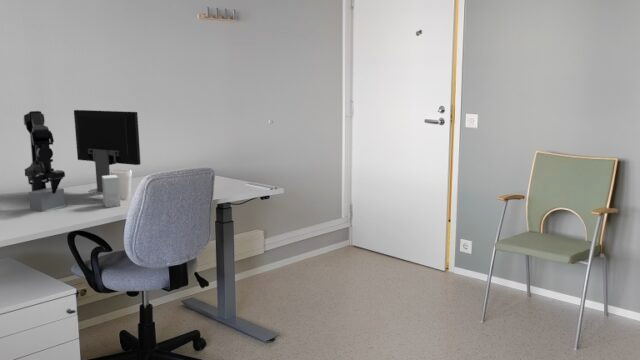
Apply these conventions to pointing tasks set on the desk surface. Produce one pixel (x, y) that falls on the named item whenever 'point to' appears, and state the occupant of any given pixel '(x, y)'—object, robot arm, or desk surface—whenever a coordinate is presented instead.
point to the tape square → (54, 208)
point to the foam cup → (123, 182)
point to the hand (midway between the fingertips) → (46, 192)
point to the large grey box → (46, 199)
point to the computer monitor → (107, 140)
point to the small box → (111, 190)
